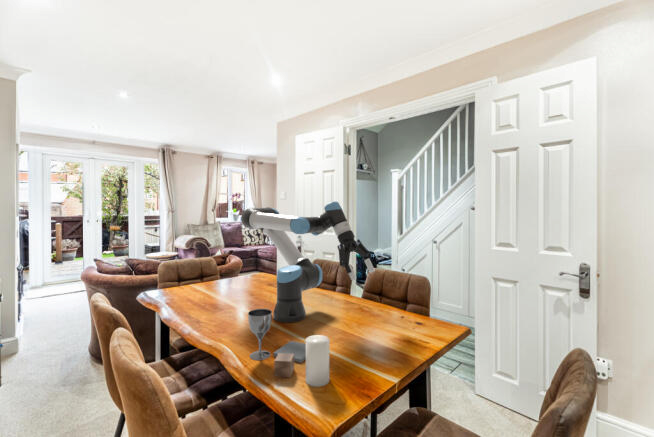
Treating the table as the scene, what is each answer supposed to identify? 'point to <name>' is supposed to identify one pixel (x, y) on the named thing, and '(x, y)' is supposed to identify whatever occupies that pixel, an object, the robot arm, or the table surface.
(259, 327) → the wine glass
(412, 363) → the table surface
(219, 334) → the table surface
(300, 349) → the coaster
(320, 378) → the white pillar candle
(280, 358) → the walnut block
